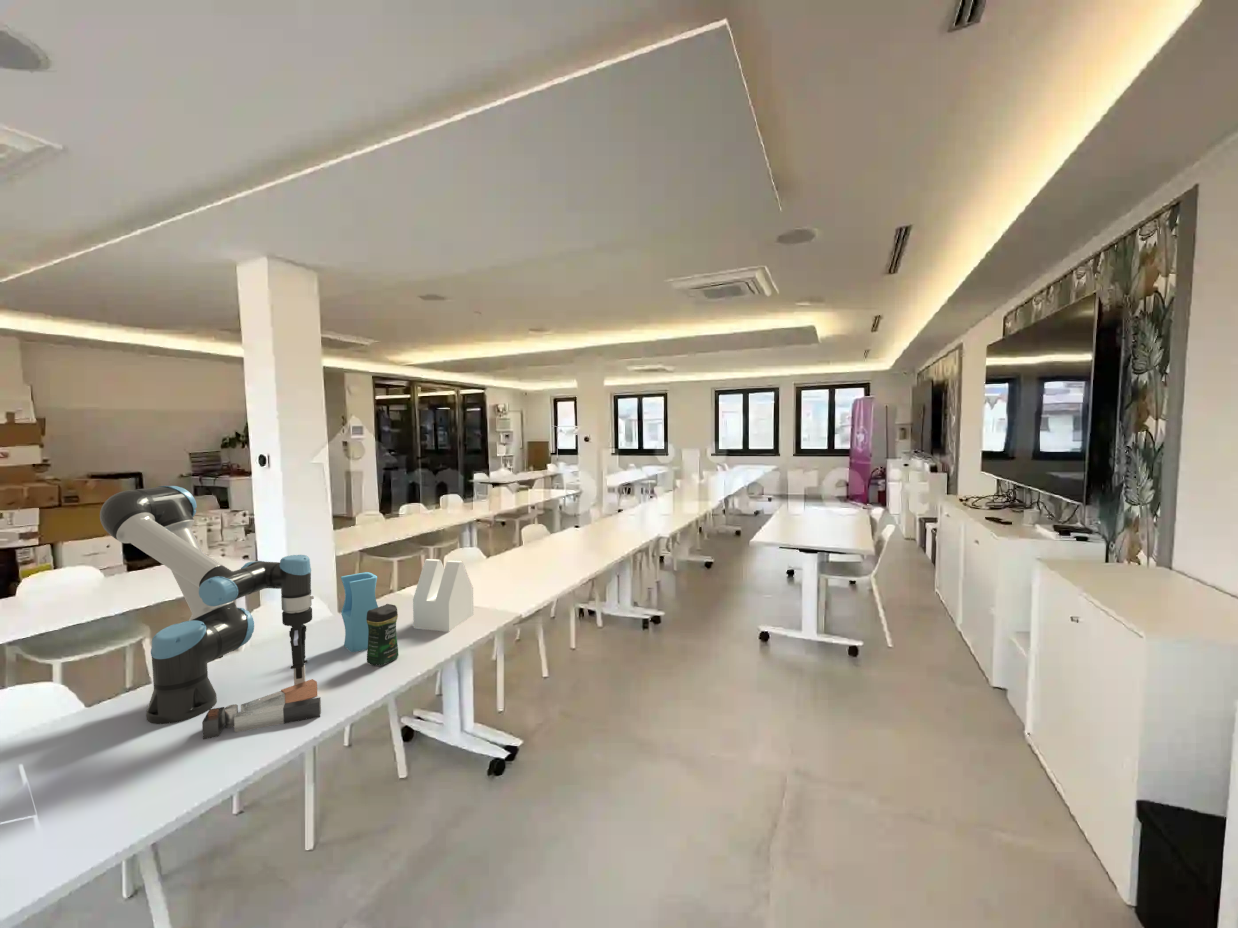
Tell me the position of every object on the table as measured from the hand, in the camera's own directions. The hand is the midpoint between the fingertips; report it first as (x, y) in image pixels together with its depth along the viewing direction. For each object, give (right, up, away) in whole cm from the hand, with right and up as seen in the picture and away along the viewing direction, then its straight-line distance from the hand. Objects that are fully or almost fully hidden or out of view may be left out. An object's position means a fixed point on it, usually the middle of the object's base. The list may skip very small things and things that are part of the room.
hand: (300, 687), depth 160 cm
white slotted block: (+23, +2, +60) cm, 64 cm away
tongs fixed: (0, -3, -16) cm, 16 cm away
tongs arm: (-2, -2, -10) cm, 10 cm away
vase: (+1, 0, +36) cm, 36 cm away
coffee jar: (+15, -1, +23) cm, 27 cm away
